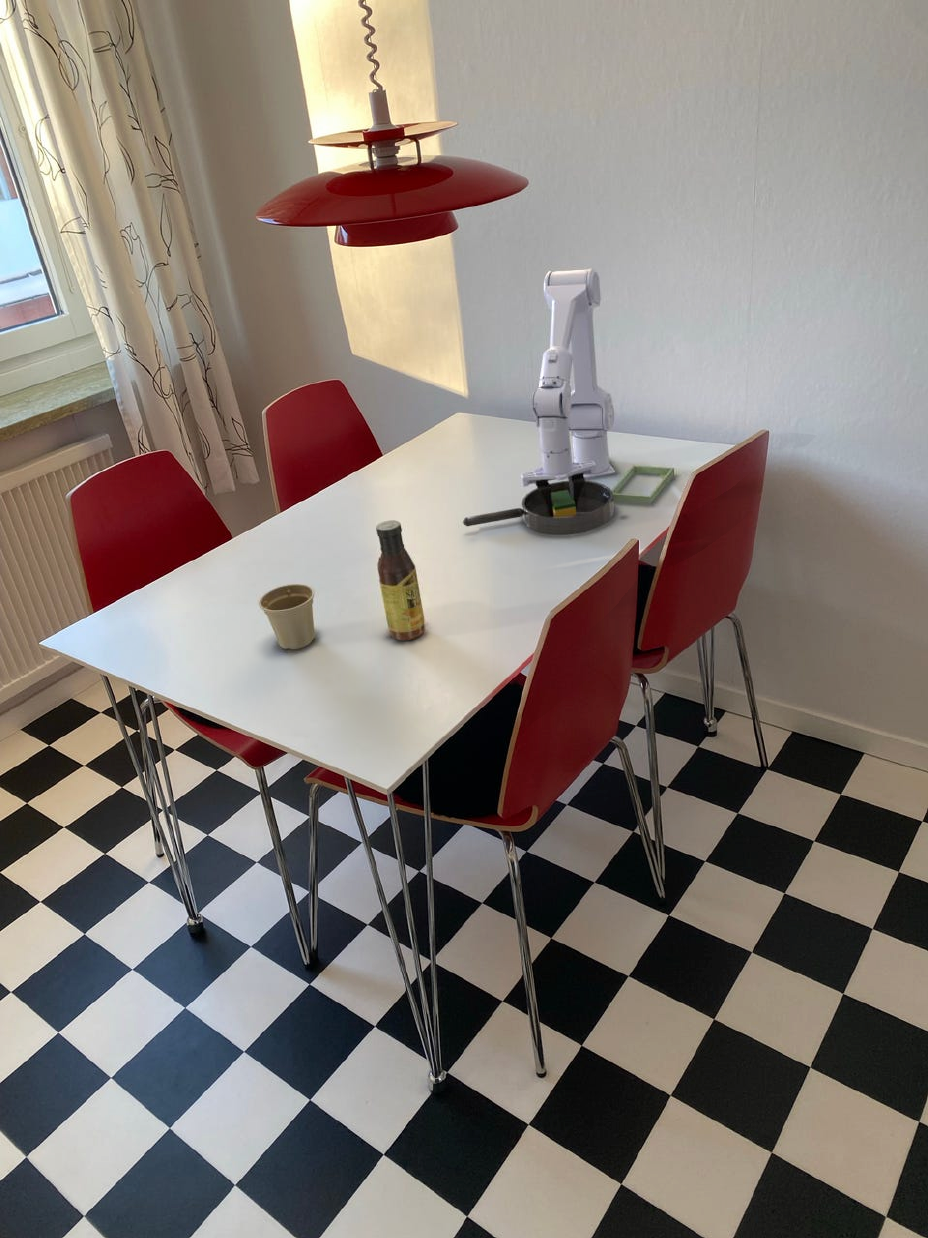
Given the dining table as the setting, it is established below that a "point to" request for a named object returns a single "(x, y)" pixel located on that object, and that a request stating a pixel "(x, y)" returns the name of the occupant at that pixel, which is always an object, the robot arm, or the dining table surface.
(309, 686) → the dining table surface
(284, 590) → the flower pot
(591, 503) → the pan
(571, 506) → the sponge
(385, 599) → the sauce bottle
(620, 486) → the sponge tray
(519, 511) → the pan handle
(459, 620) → the dining table surface
